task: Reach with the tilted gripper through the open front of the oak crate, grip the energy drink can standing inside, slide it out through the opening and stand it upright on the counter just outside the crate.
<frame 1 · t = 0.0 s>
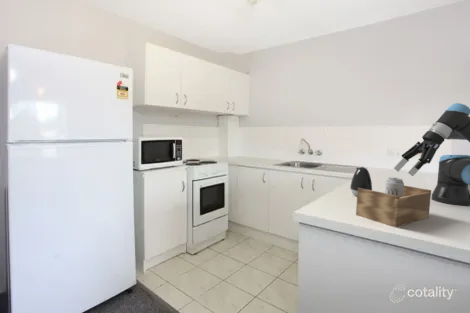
hand: (402, 171, 117), 15 cm above the counter, tool tilted 35°, fingers open, 13 cm apart
oak crate: (392, 216, 101), on the counter
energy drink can: (392, 216, 101), resting in oak crate
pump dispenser: (360, 196, 133), on the counter
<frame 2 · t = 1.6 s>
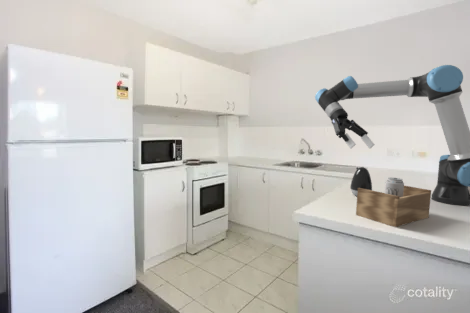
hand: (362, 146, 112), 27 cm above the counter, tool tilted 45°, fingers open, 13 cm apart
nothing on the counter moved.
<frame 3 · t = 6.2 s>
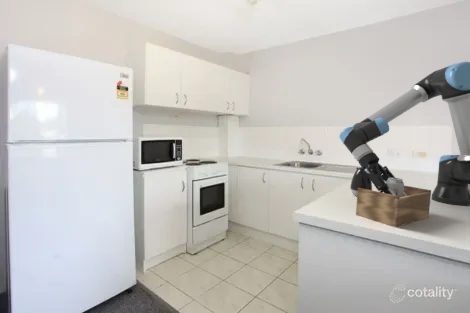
hand: (403, 203, 97), 6 cm above the counter, tool tilted 45°, fingers closed on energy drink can, 6 cm apart
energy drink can: (392, 216, 101), resting in oak crate, touching gripper
everything else where it was.
when the fingers open (7 cm above the counter, at t = 10.5 s): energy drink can stays where it is, on the counter.
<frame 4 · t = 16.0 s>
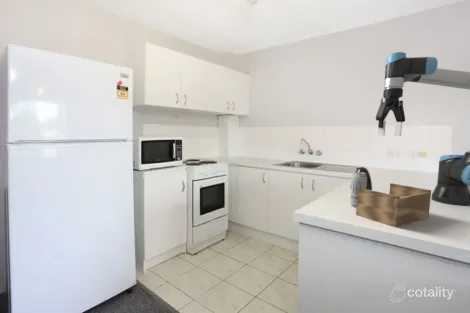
hand: (389, 135, 117), 32 cm above the counter, tool pointing down, fingers open, 13 cm apart
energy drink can: (357, 206, 114), on the counter
everything else where it was.
at the end: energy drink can inside the target area (0.2 cm from its centre), on the counter; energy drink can tilted 0°; the gripper is holding nothing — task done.
